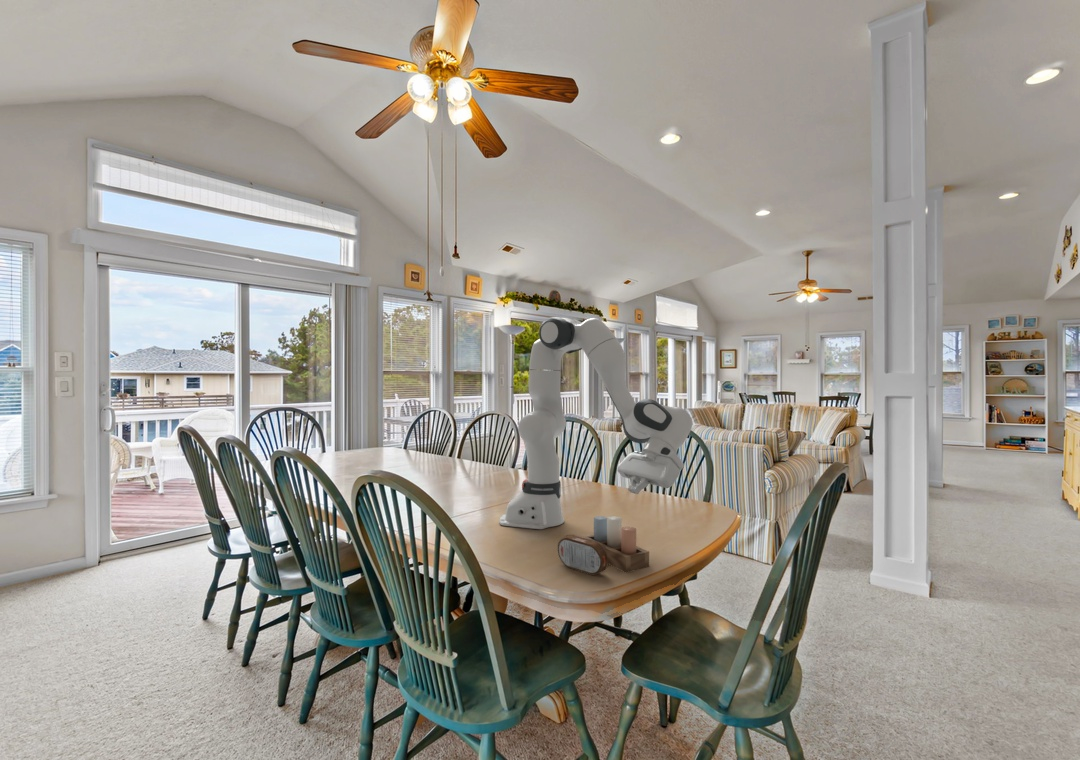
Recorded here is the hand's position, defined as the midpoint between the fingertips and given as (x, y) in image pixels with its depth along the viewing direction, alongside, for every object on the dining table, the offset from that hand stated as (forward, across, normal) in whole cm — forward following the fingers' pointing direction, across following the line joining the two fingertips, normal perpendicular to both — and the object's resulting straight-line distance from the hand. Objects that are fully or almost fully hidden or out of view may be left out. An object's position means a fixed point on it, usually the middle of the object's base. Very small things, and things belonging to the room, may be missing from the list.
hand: (632, 492), depth 144 cm
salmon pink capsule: (+16, +6, +6) cm, 18 cm away
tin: (+26, +2, -1) cm, 26 cm away
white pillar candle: (+15, 0, +5) cm, 16 cm away
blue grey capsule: (+16, -6, +6) cm, 18 cm away
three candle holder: (+17, 0, +8) cm, 19 cm away
